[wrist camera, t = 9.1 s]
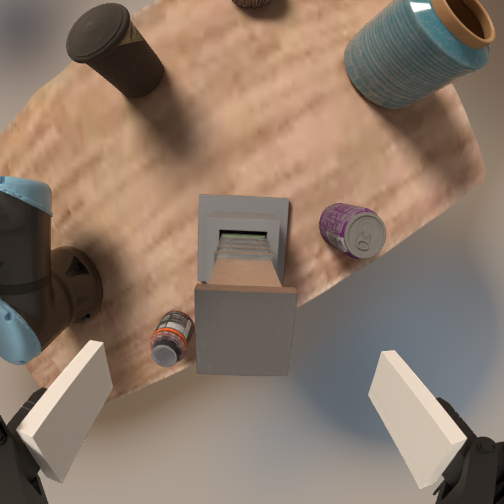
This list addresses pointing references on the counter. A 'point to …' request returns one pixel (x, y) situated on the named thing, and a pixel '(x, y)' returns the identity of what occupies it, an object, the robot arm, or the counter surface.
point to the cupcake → (251, 3)
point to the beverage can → (353, 230)
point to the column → (244, 312)
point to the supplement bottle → (171, 338)
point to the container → (115, 49)
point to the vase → (418, 49)
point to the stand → (241, 226)
